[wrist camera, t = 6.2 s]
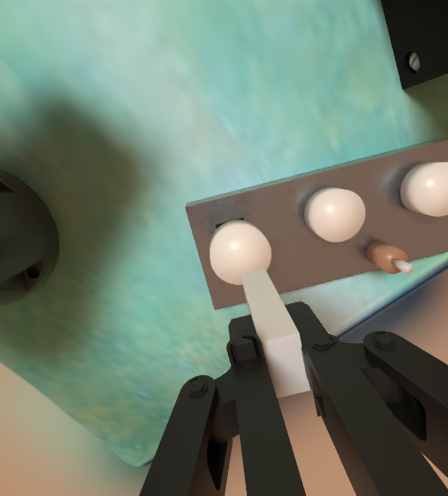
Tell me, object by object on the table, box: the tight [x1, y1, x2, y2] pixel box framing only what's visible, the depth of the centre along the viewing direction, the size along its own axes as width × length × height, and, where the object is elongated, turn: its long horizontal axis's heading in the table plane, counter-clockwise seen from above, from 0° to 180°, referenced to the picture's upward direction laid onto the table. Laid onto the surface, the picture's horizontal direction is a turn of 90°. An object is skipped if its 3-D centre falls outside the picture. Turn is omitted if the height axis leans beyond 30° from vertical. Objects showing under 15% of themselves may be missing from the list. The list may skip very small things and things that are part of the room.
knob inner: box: [210, 220, 271, 285], centre depth 26 cm, size 5×5×6 cm
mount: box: [185, 138, 448, 310], centre depth 32 cm, size 28×12×3 cm, turn 104°
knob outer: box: [400, 162, 448, 217], centre depth 29 cm, size 5×5×6 cm
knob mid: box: [304, 187, 365, 242], centre depth 29 cm, size 5×5×6 cm
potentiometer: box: [366, 241, 413, 274], centre depth 29 cm, size 3×3×5 cm
